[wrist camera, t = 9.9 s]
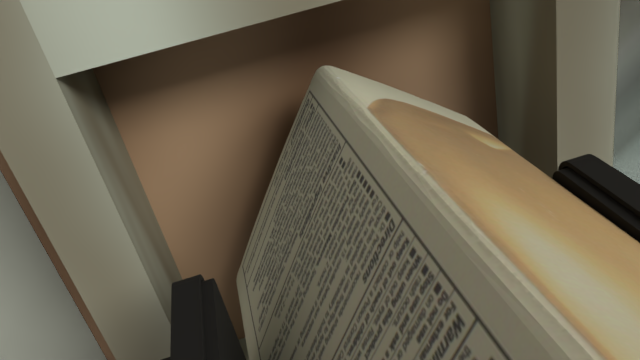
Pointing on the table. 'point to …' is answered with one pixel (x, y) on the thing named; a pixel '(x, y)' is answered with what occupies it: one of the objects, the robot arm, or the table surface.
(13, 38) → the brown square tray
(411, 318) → the skincare box
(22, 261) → the table surface
